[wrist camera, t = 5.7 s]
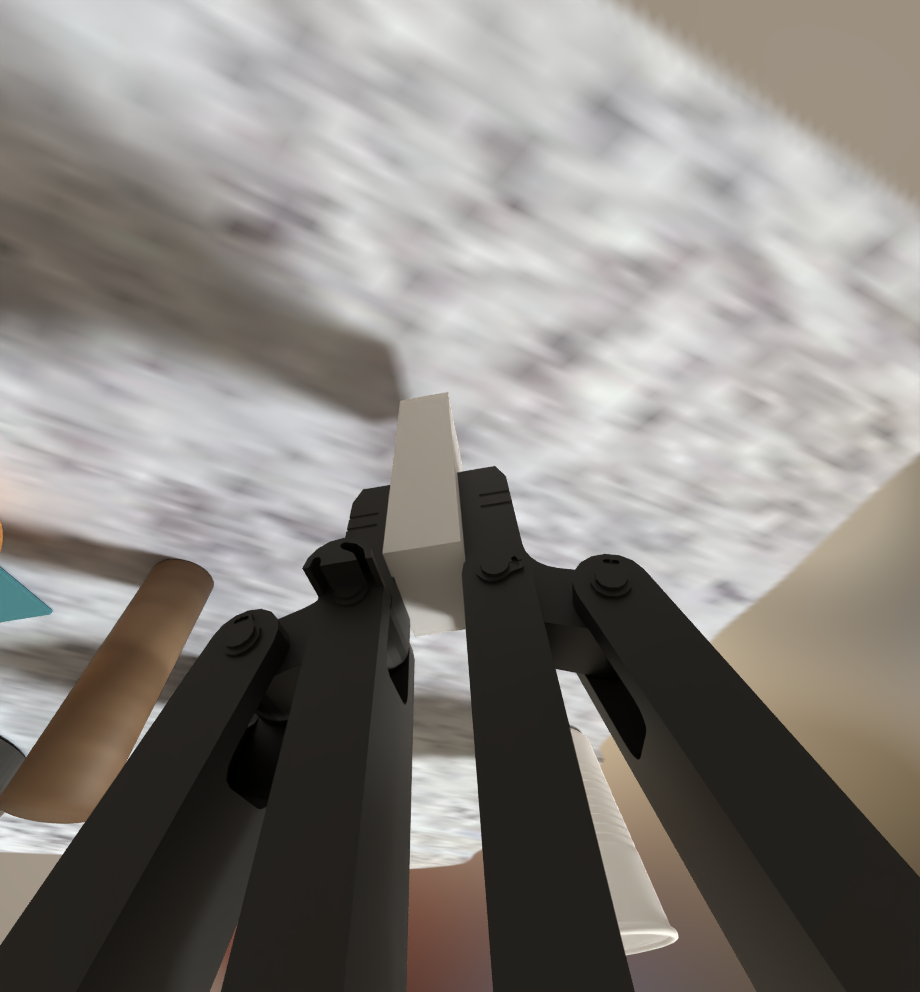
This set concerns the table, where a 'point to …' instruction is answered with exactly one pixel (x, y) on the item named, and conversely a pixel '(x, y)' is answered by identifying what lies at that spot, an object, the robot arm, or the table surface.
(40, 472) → the table surface
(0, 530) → the ball
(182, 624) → the post
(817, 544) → the table surface
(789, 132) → the table surface
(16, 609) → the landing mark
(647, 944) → the cup
